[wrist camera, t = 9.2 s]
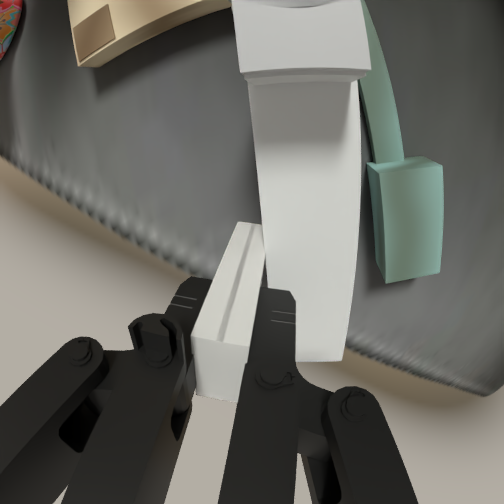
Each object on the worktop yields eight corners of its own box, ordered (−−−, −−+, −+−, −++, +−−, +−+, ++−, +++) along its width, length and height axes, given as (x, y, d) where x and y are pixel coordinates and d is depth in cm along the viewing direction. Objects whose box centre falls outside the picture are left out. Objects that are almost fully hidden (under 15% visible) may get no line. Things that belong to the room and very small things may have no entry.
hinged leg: (245, -1, 9) (197, -84, 2) (326, -5, 9) (352, -92, 2) (274, 292, 17) (259, 401, 11) (338, 291, 17) (354, 400, 10)
